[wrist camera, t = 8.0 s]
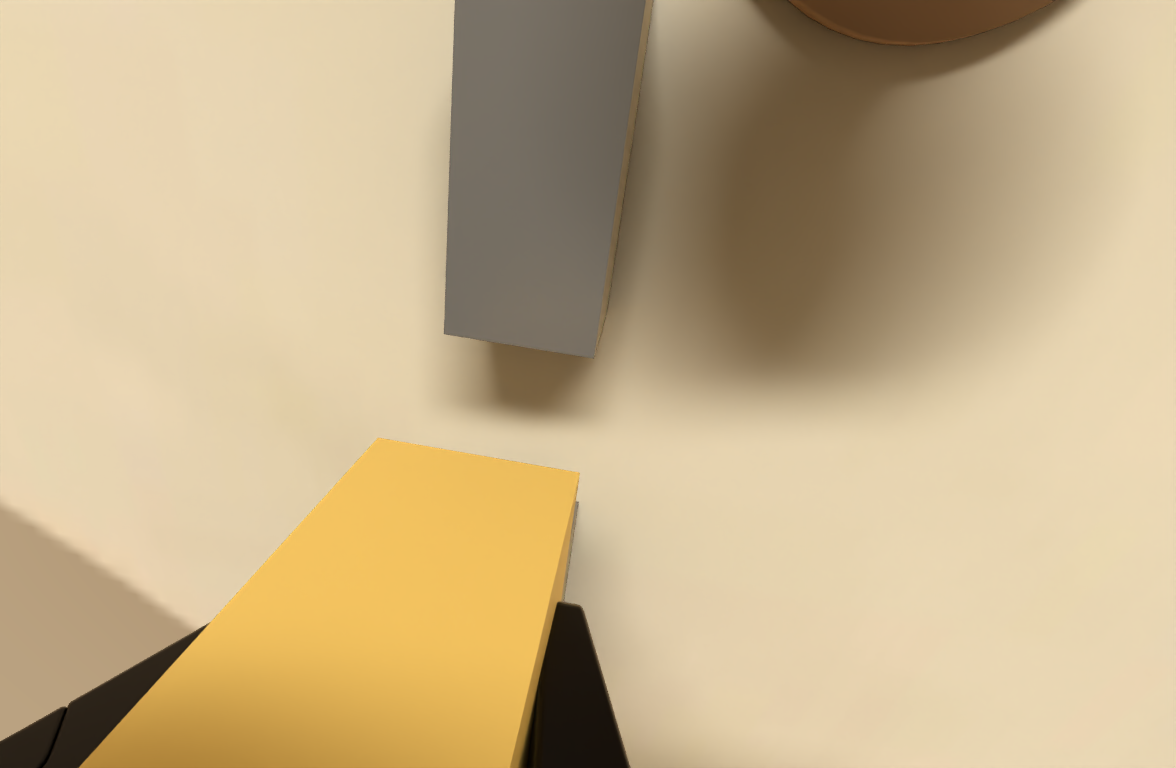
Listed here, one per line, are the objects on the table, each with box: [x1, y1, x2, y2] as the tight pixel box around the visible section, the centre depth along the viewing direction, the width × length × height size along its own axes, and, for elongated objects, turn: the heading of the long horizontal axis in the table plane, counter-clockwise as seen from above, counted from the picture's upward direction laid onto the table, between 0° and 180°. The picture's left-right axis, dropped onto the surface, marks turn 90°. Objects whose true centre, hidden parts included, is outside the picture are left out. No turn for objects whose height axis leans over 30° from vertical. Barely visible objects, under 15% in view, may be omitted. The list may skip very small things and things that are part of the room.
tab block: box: [79, 438, 580, 768], centre depth 7 cm, size 4×3×6 cm
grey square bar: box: [444, 0, 653, 602], centre depth 14 cm, size 19×3×3 cm, turn 173°
